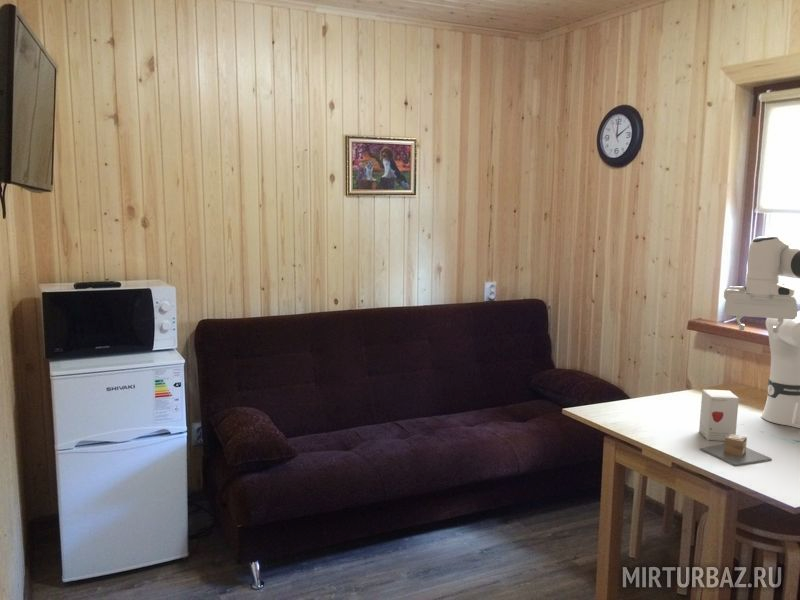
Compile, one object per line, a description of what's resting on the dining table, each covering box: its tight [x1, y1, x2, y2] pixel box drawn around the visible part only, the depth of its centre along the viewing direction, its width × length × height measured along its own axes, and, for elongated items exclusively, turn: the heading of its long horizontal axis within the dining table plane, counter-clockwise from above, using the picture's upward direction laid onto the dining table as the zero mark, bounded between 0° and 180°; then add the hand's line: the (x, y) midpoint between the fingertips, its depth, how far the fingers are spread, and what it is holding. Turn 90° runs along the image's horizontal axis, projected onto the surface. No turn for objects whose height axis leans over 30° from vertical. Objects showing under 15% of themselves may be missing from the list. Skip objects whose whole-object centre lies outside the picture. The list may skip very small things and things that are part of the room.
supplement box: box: [698, 389, 740, 442], centre depth 218 cm, size 9×9×15 cm
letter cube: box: [724, 434, 748, 457], centre depth 203 cm, size 5×5×5 cm
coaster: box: [699, 443, 773, 467], centre depth 203 cm, size 14×14×1 cm
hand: (758, 331), depth 207 cm, fingers open, 8 cm apart
